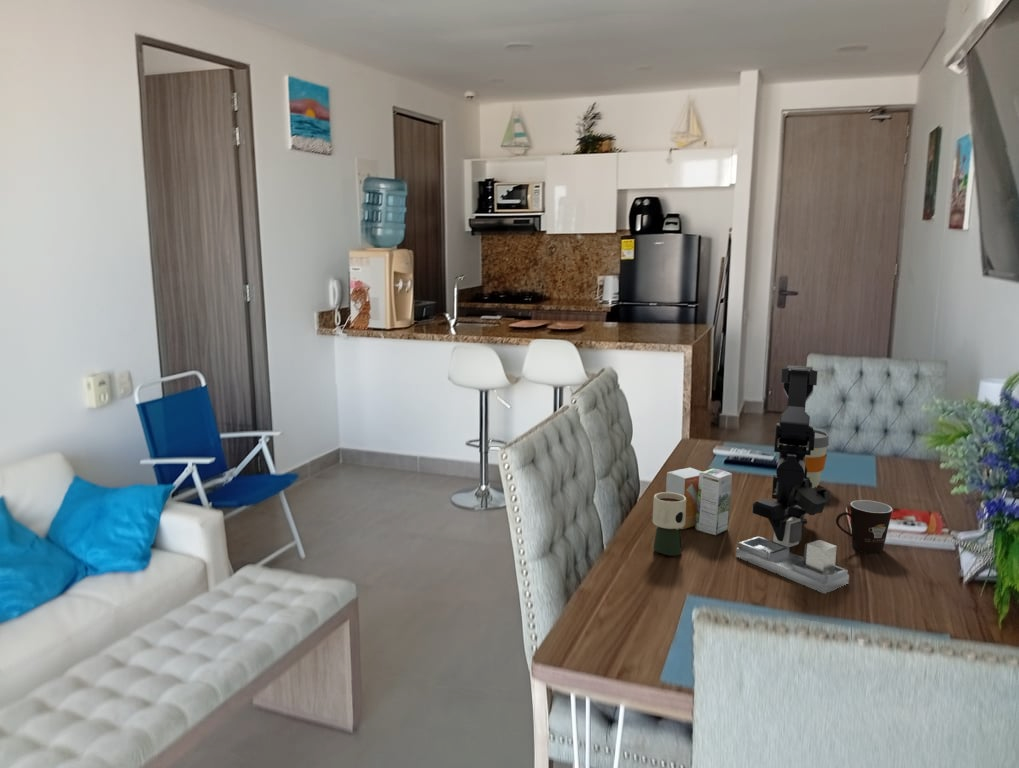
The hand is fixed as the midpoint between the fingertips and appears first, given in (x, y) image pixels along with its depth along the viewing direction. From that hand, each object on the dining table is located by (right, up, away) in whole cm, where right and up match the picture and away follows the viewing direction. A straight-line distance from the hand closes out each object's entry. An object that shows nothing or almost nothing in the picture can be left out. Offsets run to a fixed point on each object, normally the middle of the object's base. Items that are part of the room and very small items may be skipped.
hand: (786, 538), depth 180 cm
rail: (-4, -4, -15) cm, 16 cm away
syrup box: (-15, 0, +8) cm, 17 cm away
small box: (-21, +1, +13) cm, 24 cm away
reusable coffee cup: (+20, +7, +45) cm, 49 cm away
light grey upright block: (0, -1, 0) cm, 1 cm away
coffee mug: (+16, -2, -2) cm, 16 cm away
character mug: (-29, -2, -6) cm, 29 cm away
